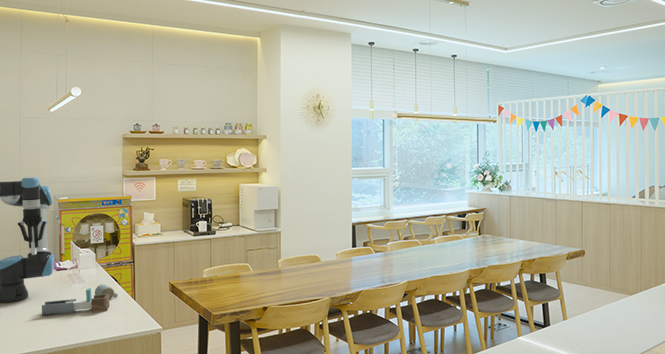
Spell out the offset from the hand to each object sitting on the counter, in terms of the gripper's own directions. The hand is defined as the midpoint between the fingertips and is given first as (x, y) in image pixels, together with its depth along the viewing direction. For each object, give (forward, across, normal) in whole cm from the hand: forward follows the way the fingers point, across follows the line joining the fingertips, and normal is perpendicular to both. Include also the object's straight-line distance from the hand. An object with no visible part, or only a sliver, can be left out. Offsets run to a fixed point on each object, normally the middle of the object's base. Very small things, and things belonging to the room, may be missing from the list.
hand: (34, 254), depth 246 cm
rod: (+28, +24, -7) cm, 37 cm away
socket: (+29, +31, -7) cm, 43 cm away
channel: (+29, +12, -7) cm, 33 cm away
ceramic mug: (+30, +31, +12) cm, 45 cm away
